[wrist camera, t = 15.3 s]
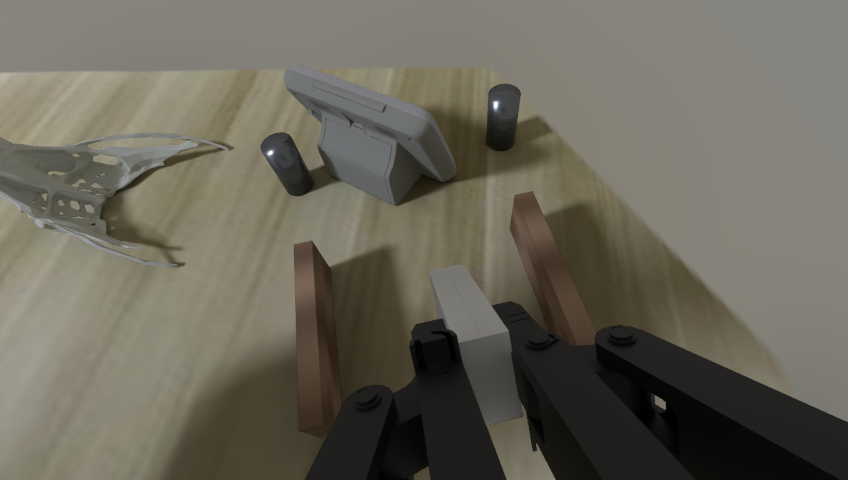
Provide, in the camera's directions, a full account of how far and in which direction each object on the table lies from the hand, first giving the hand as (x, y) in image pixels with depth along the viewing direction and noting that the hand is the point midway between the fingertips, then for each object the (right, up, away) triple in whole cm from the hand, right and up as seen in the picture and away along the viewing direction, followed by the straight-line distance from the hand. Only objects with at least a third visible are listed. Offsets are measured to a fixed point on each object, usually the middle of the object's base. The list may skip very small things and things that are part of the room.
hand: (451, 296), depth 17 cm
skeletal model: (-36, +6, +27) cm, 45 cm away
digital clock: (-5, +10, +26) cm, 28 cm away
